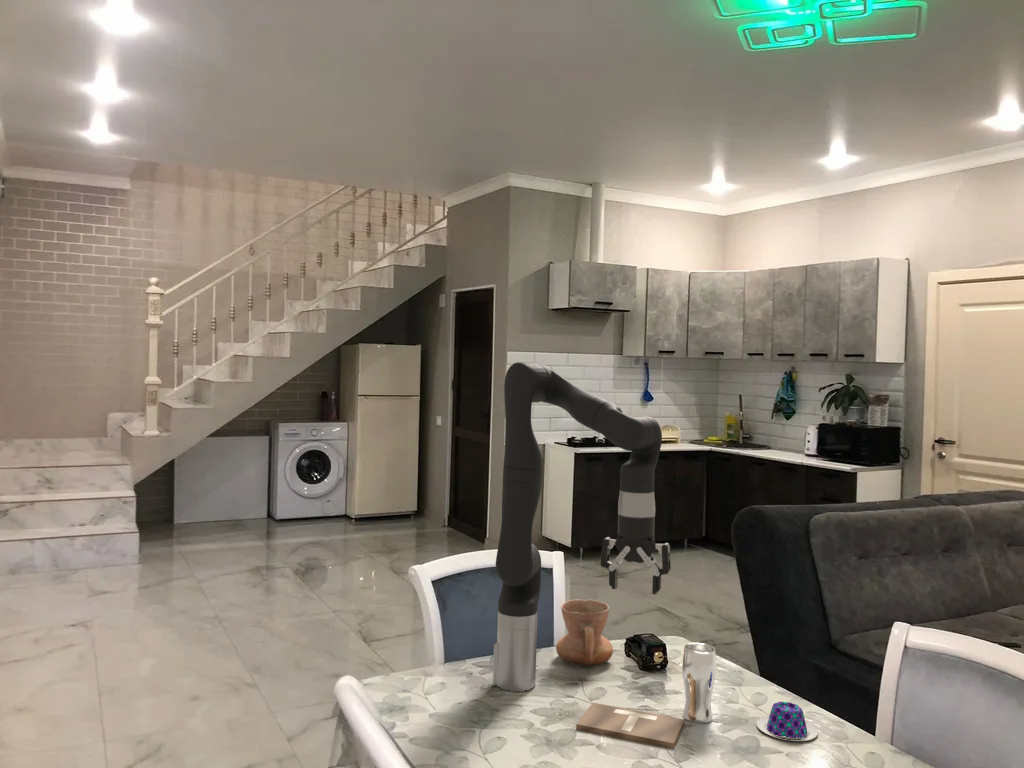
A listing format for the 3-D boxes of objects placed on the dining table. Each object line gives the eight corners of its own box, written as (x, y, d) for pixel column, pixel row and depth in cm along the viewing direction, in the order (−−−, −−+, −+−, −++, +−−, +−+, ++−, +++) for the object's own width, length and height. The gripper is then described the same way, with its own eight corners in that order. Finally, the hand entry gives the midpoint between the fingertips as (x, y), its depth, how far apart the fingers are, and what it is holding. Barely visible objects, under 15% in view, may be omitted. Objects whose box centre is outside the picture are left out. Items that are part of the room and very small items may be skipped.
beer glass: (715, 726, 167) (717, 654, 167) (681, 722, 168) (683, 651, 168) (713, 712, 174) (715, 644, 173) (681, 709, 175) (682, 641, 175)
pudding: (819, 748, 158) (820, 722, 158) (756, 739, 162) (757, 713, 162) (815, 724, 170) (815, 699, 170) (756, 715, 173) (757, 691, 173)
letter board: (576, 728, 164) (576, 723, 164) (592, 707, 175) (592, 702, 175) (673, 748, 156) (673, 742, 156) (684, 724, 167) (684, 719, 167)
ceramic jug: (554, 648, 213) (555, 595, 212) (609, 649, 212) (609, 596, 212) (557, 674, 195) (558, 617, 194) (617, 675, 194) (618, 618, 194)
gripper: (598, 512, 165) (596, 591, 165) (667, 518, 159) (665, 599, 159) (607, 507, 171) (606, 582, 172) (674, 513, 166) (672, 590, 166)
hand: (634, 590), depth 165 cm, fingers open, 8 cm apart
